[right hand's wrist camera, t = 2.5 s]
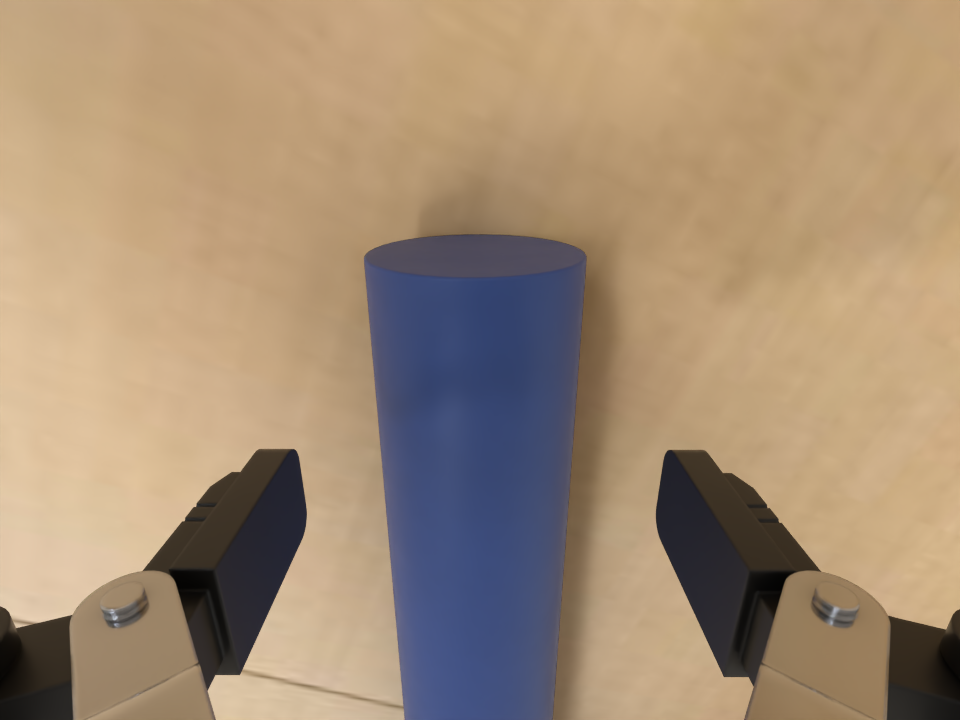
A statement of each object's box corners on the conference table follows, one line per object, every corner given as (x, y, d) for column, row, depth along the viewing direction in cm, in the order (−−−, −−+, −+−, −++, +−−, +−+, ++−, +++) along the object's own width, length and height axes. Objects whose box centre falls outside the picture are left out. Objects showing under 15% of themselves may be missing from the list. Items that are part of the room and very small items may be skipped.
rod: (383, 234, 17) (339, 278, 12) (567, 233, 17) (611, 277, 12) (422, 763, 28) (408, 920, 22) (536, 762, 28) (551, 918, 22)
